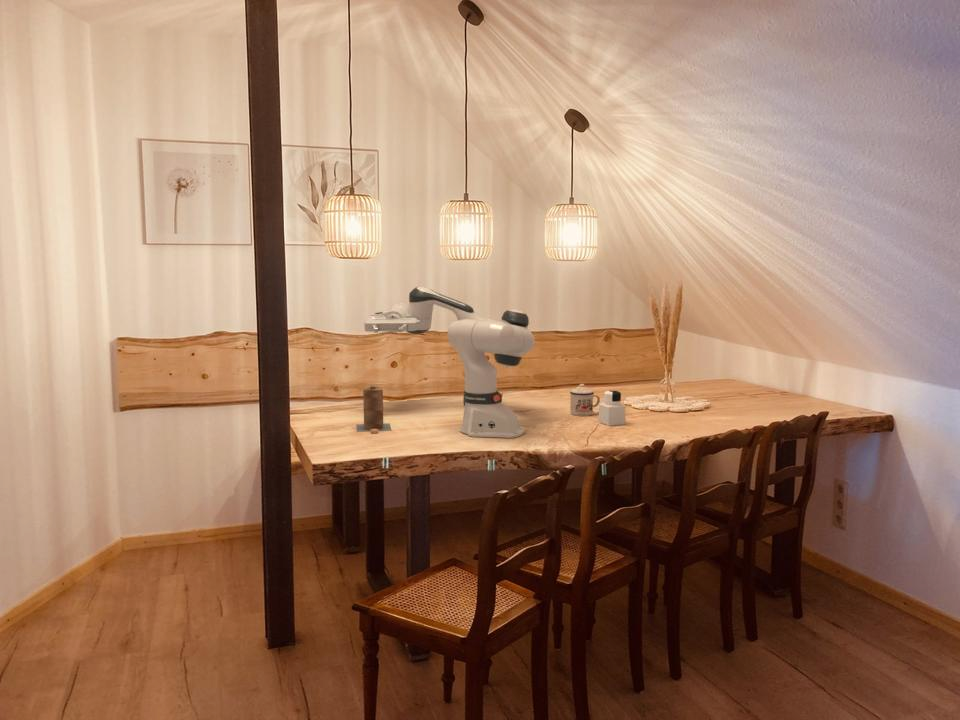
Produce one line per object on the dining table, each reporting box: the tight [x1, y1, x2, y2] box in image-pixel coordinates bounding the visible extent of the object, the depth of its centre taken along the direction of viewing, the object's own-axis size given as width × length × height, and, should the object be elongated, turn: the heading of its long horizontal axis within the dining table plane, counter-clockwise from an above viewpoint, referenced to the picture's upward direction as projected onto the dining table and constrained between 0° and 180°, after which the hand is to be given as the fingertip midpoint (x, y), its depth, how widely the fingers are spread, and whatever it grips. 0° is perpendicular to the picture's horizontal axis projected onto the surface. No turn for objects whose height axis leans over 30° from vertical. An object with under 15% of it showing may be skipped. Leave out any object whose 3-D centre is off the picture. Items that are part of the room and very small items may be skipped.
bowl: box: [370, 429, 379, 435], centre depth 281 cm, size 3×3×2 cm
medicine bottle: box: [598, 390, 626, 427], centre depth 297 cm, size 7×7×12 cm
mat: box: [355, 422, 392, 433], centre depth 289 cm, size 12×12×1 cm
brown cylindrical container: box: [362, 384, 384, 430], centre depth 288 cm, size 7×7×15 cm
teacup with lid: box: [569, 383, 601, 417], centre depth 315 cm, size 12×9×12 cm
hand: (387, 330), depth 304 cm, fingers open, 8 cm apart
